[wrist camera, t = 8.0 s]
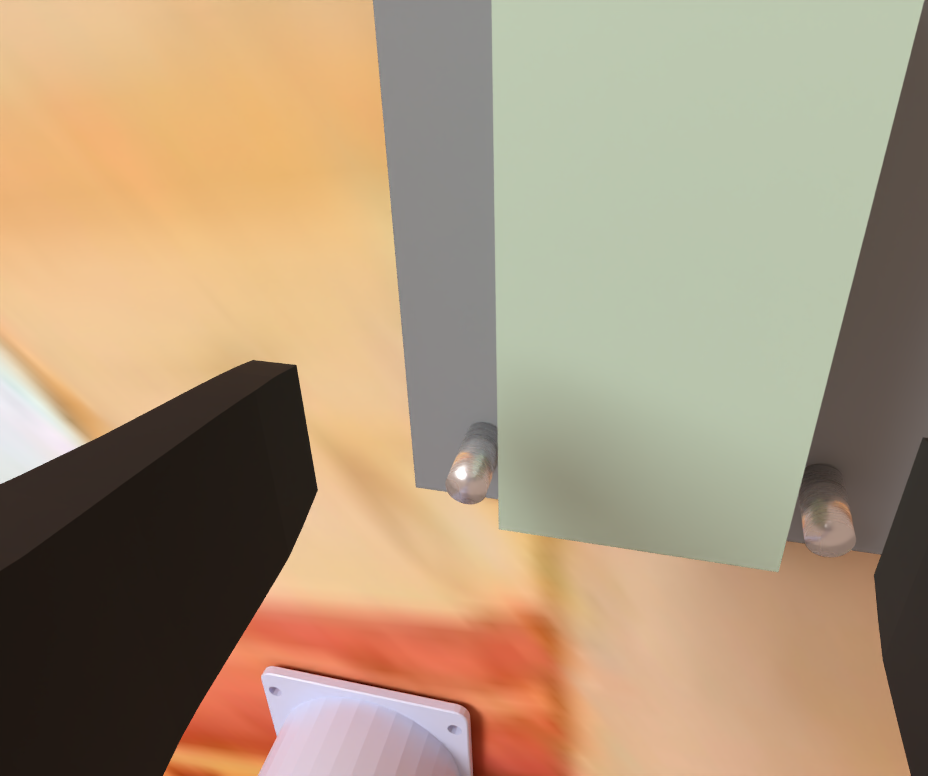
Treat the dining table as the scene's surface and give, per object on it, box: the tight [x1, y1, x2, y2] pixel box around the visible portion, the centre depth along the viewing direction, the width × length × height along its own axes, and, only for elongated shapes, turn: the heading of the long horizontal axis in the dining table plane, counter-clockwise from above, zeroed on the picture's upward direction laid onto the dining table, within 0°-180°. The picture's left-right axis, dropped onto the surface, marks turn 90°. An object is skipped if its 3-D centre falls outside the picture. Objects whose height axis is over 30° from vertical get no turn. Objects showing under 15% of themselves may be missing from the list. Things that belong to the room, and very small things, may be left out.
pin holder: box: [373, 0, 928, 557], centre depth 16 cm, size 17×12×3 cm
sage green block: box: [491, 0, 924, 572], centre depth 14 cm, size 10×5×5 cm, turn 2°
